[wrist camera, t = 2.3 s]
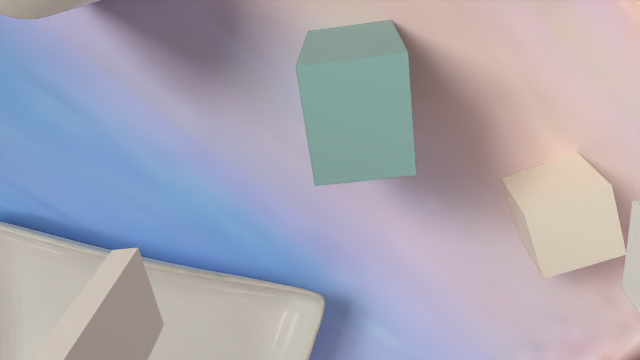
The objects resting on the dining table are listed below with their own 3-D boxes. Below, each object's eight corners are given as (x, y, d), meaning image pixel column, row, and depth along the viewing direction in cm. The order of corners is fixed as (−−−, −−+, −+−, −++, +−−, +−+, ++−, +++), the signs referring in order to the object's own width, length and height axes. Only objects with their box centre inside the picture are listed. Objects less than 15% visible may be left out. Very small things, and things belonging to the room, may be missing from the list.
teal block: (321, 124, 34) (314, 186, 26) (308, 31, 32) (295, 66, 24) (399, 115, 34) (416, 175, 26) (391, 19, 31) (407, 52, 23)
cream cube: (519, 236, 37) (543, 279, 33) (501, 177, 35) (524, 213, 31) (591, 214, 36) (626, 254, 32) (576, 151, 34) (611, 185, 30)
